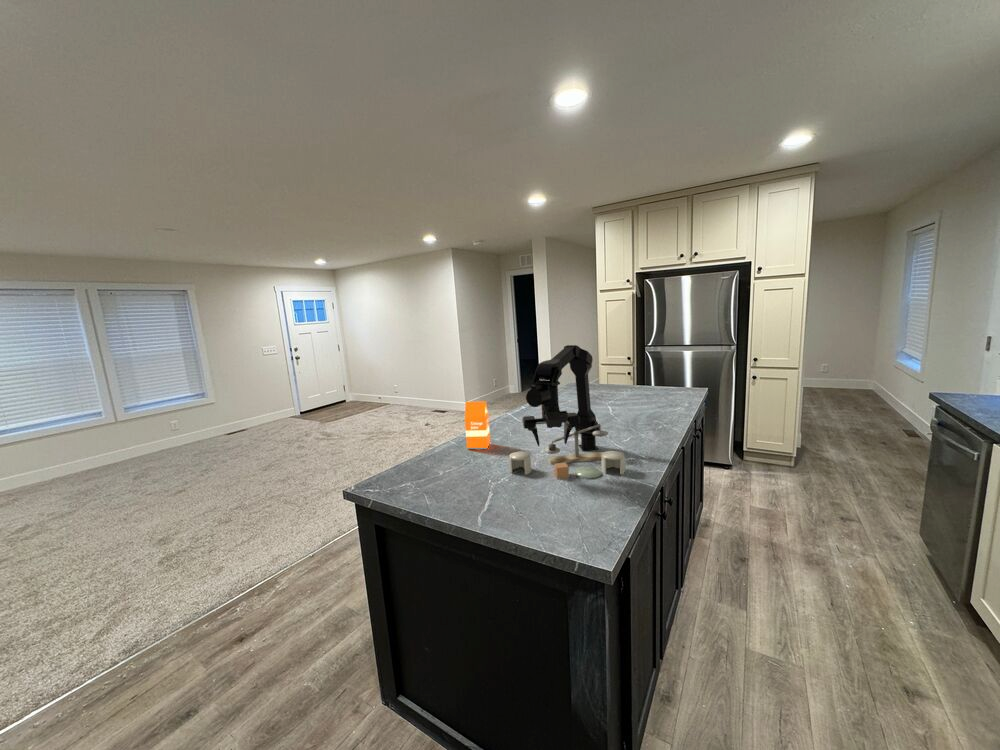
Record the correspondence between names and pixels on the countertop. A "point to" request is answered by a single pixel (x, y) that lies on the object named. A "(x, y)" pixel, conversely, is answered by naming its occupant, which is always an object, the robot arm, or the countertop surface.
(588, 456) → the balance
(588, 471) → the dish
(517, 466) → the cover
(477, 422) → the orange juice
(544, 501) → the countertop surface
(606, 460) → the cover
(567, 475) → the block
